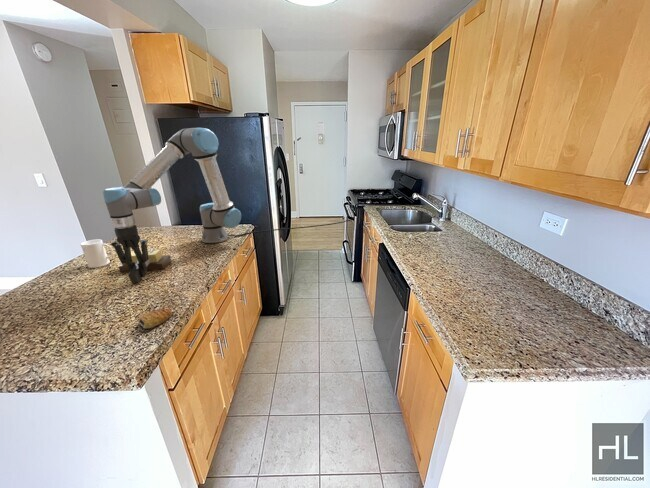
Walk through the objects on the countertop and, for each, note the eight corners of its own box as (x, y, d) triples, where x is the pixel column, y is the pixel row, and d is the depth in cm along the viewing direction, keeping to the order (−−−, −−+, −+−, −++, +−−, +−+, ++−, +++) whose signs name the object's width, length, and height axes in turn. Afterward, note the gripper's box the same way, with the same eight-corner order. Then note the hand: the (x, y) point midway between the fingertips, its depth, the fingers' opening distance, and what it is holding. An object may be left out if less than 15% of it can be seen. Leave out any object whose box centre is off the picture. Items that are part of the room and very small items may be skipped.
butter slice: (162, 257, 131) (160, 249, 130) (157, 262, 126) (155, 254, 124) (155, 257, 131) (153, 250, 129) (150, 262, 125) (148, 255, 124)
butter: (150, 257, 130) (148, 250, 129) (144, 262, 125) (142, 255, 123) (128, 259, 129) (126, 251, 127) (121, 264, 123) (119, 256, 122)
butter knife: (158, 253, 131) (155, 245, 129) (138, 282, 112) (134, 273, 109) (152, 253, 131) (149, 245, 128) (132, 283, 112) (127, 274, 109)
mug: (120, 259, 135) (113, 237, 131) (111, 266, 128) (103, 244, 123) (94, 261, 133) (86, 239, 129) (83, 268, 126) (75, 245, 121)
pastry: (166, 310, 94) (164, 301, 93) (176, 317, 91) (173, 308, 89) (137, 324, 87) (134, 314, 86) (146, 332, 84) (143, 322, 82)
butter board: (171, 260, 134) (170, 255, 133) (163, 269, 125) (161, 263, 124) (131, 262, 132) (129, 257, 130) (120, 272, 122) (118, 266, 121)
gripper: (97, 229, 102) (115, 281, 111) (140, 228, 105) (154, 279, 113) (109, 224, 109) (125, 273, 118) (149, 222, 112) (162, 271, 120)
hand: (139, 276), depth 116 cm, fingers closed on butter knife, 2 cm apart
